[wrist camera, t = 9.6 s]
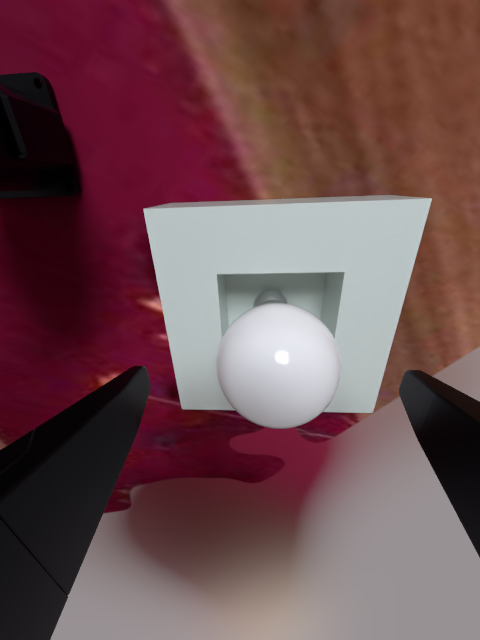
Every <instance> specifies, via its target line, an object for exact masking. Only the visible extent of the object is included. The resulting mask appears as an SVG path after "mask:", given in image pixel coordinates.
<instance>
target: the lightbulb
mask: <svg viewBox="0 0 480 640" xmlns="http://www.w3.org/2000/svg"><path fill="white" fill-rule="evenodd" d="M216 371H217V377H218V381H219V385H220V387H221V390H222V392H223V394H224V396H225V398H226V399H227V401H228V402H229V404H230V405H231V406H232V407H233V408H234V409H235V410H236V411H237V412H238V413H239V414H240V415H242V416H243V417H244V418H246V419H247V420H249V421H251V422H253V423H255V424H258V425H260V426H264V427H268V428H275V429H286V428H293V427H297V426H300V425H303V424H305V423H307V422H309V421H311V420H313V419H314V418H316V417H317V416H318V415H320V414H321V413H322V412H323V411H324V410H325V409H326V408H327V407H328V405H329V404H330V403H331V401H332V399H333V398H334V396H335V394H336V391H337V389H338V386H339V382H340V377H341V358H340V353H339V349H338V346H337V343H336V341H335V339H334V337H333V335H332V333H331V332H330V330H329V329H328V328H327V326H326V325H325V324H324V323H323V322H322V321H321V320H320V319H319V318H318V317H316V316H315V315H314V314H312V313H311V312H309V311H307V310H305V309H303V308H301V307H298V306H295V305H291V304H288V302H287V299H286V298H285V297H284V295H282V294H281V293H279V292H277V291H265V292H263V293H261V294H260V295H258V296H257V297H256V299H255V301H254V304H253V308H252V309H250V310H248V311H246V312H244V313H243V314H241V315H240V316H239V317H238V318H236V319H235V320H234V321H233V322H232V323H231V325H230V326H229V327H228V328H227V330H226V332H225V333H224V335H223V337H222V339H221V341H220V344H219V347H218V351H217V358H216Z"/></svg>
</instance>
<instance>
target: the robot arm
mask: <svg viewBox="0 0 480 640" xmlns="http://www.w3.org/2000/svg"><path fill="white" fill-rule="evenodd" d="M40 80H41V82H42V88H41V89H40V87H39V81H40ZM70 184H71V185H72V186H73V191H72V190H71V189H70V186H69V185H70ZM79 193H80V186H79V182H78V179H77V175H76V172H75V168H74V165H73V157H72V153H71V150H70V146H69V143H68V139H67V136H66V132H65V128H64V125H63V121H62V118H61V115H60V114H59V113H58V109H57V106H56V102H55V99H54V95H53V92H52V88H51V85H50V83H49V81H48V79H47V78H46V77H44V76H43V75H41V74H39V73H36V72H32V73H19V74H6V75H0V198H24V197H49V196H73V195H78V194H79ZM149 392H150V380H149V376H148V372H147V368H146V367H145V366H133V367H131V368H130V369H128V370H127V371H125V372H124V373H122V374H120V375H119V376H117V377H116V378H114V379H112V380H111V381H109V382H108V383H106V384H105V385H103V386H101V387H100V388H98V389H97V390H95V391H94V392H92V393H90V394H89V395H87V396H86V397H84V398H82V399H81V400H79V401H78V402H76V403H75V404H73V405H71V406H70V407H68V408H67V409H65V410H64V411H62V412H60V413H59V414H57V415H56V416H54V417H52V418H51V419H49V420H48V421H46V422H45V423H43V424H41V425H40V426H38V427H37V428H35V431H34V430H32V431H30V432H29V433H27V434H26V435H24V436H22V437H21V438H19V439H18V440H16V441H14V442H13V443H11V444H10V445H8V446H6V447H5V448H3V449H1V450H0V640H50V639H51V636H52V634H53V632H54V629H55V627H56V624H57V622H58V619H59V617H60V615H61V612H62V610H63V608H64V605H65V603H66V601H67V598H68V596H67V595H69V593H70V591H71V588H72V586H73V584H74V581H75V579H76V576H77V574H78V572H79V569H80V567H81V564H82V562H83V560H84V558H85V555H86V553H87V550H88V548H89V546H90V543H91V541H92V539H93V536H94V534H95V531H96V529H97V527H98V524H99V522H100V520H101V517H102V515H103V512H104V510H105V508H106V505H107V503H108V501H109V498H110V496H111V493H112V491H113V489H114V486H115V484H116V482H117V479H118V477H119V474H120V472H121V470H122V467H123V465H124V463H125V460H126V458H127V455H128V453H129V451H130V448H131V446H132V444H133V441H134V439H135V436H136V434H137V431H138V429H139V426H140V422H141V419H142V416H143V412H144V409H145V406H146V402H147V399H148V396H149ZM399 394H400V397H401V400H402V402H403V405H404V407H405V410H406V412H407V415H408V417H409V420H410V422H411V425H412V427H413V430H414V432H415V434H416V437H417V439H418V441H419V443H420V445H421V447H422V449H423V450H424V452H425V454H426V456H427V458H428V460H429V462H430V464H431V466H432V467H433V470H434V471H435V473H436V475H437V477H438V479H439V481H440V483H441V485H442V487H443V489H444V490H445V492H446V494H447V496H448V498H449V500H450V502H451V504H452V505H453V508H454V509H455V511H456V513H457V515H458V517H459V519H460V521H461V523H462V525H463V527H464V528H465V530H466V532H467V534H468V536H469V538H470V540H471V542H472V544H473V546H474V548H475V549H476V551H477V553H478V555H479V557H480V402H479V401H477V400H475V399H473V398H471V397H469V396H468V395H466V394H464V393H462V392H460V391H458V390H456V389H454V388H453V387H451V386H449V385H447V384H445V383H443V382H441V381H439V380H438V379H436V378H434V377H432V376H430V375H428V374H426V373H425V372H423V371H420V370H407V371H406V372H405V373H404V376H403V379H402V382H401V385H400V387H399Z"/></svg>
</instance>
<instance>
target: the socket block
mask: <svg viewBox="0 0 480 640" xmlns="http://www.w3.org/2000/svg"><path fill="white" fill-rule="evenodd" d="M431 201H432V198H420V197H407V196H394V195H375V196H348V197H322V198H295V199H269V200H242V201H215V202H189V203H169V204H164V205H160V206H155V207H150V208H145V209H143V210H144V216H145V221H146V226H147V231H148V236H149V241H150V247H151V252H152V257H153V262H154V267H155V273H156V278H157V283H158V288H159V293H160V298H161V304H162V309H163V314H164V319H165V324H166V330H167V335H168V340H169V345H170V350H171V355H172V361H173V366H174V371H175V376H176V381H177V387H178V392H179V397H180V402H181V407H182V409H196V410H235V409H234V408H233V407H232V406H231V405H230V404H229V402H228V401H227V399H226V398H225V396H224V394H223V392H222V390H221V387H220V385H219V381H218V377H217V371H216V358H217V351H218V347H219V344H220V341H221V339H222V337H223V335H224V333H225V332H226V330H227V328H228V327H229V326H230V325H231V323H232V322H233V321H234V320H235V319H236V318H238V317H239V316H240V315H241V314H243V313H244V312H246V311H248V310H250V309H252V308H253V304H254V301H255V299H256V297H257V296H258V295H260V294H261V293H263V292H265V291H277V292H279V293H281V294H282V295H284V297H285V298H286V299H287V302H288V304H291V305H295V306H298V307H301V308H303V309H305V310H307V311H309V312H311V313H312V314H314V315H315V316H316V317H318V318H319V319H320V320H321V321H322V322H323V323H324V324H325V325H326V326H327V328H328V329H329V330H330V332H331V333H332V335H333V337H334V339H335V341H336V343H337V346H338V349H339V353H340V358H341V377H340V382H339V386H338V389H337V391H336V394H335V396H334V398H333V399H332V401H331V403H330V404H329V405H328V407H327V408H326V409H325V410H324V411H323V412H351V413H373V410H374V407H375V403H376V399H377V396H378V392H379V389H380V385H381V381H382V378H383V374H384V370H385V367H386V363H387V360H388V356H389V352H390V349H391V345H392V342H393V338H394V334H395V331H396V327H397V323H398V320H399V316H400V313H401V309H402V305H403V302H404V298H405V295H406V291H407V287H408V284H409V280H410V276H411V273H412V269H413V266H414V262H415V258H416V255H417V251H418V248H419V244H420V240H421V237H422V233H423V229H424V226H425V222H426V219H427V215H428V211H429V208H430V204H431Z"/></svg>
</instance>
